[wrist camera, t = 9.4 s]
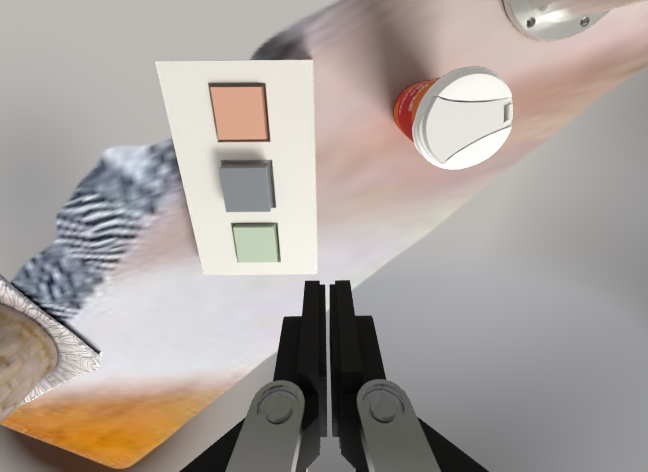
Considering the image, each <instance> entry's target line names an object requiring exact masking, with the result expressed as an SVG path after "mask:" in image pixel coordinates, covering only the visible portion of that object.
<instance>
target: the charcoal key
mask: <svg viewBox="0 0 648 472" xmlns="http://www.w3.org/2000/svg"><path fill="white" fill-rule="evenodd" d="M219 173H220V179H221V185H222V191H223V197H224V202H225V208H226V212H270V211H271V208H272V206H273V198H272V187H271V176H270V165H269V163H225V164H224V165H222V166H221V167H220V168H219Z"/></svg>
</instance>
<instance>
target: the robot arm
mask: <svg viewBox="0 0 648 472" xmlns="http://www.w3.org/2000/svg"><path fill="white" fill-rule="evenodd" d="M642 1H645V0H503V2H504V6H505V10H506V13H507V15H508V17H509V19H510V21H511V22H512V24H513V25H514V26H515V27H516V29H517V30H518V31H520V32H521V33H522V34H524V35H525V36H527V37H529V38H532V39H535V40H540V41H554V40H560V39H565V38H569V37H572V36H574V35H576V34H579V33H581V32H583V31H585V30H586V29H588V28H590V27H591V26H593V25H594V24H596V23H597V22H598V21H599V20H600V19H602V18H603V17H604V16H605V15H606V14H607V13H608V12H609V11H610V10H611V9H615V8H619V7H623V6H626V5H630V4H634V3H638V2H642ZM527 22H528V25H527ZM326 366H327V365H326V305H325V285H320V281H305V288H304V300H303V312H302V316H290V317H284V319H283V324H282V330H281V336H280V342H279V348H278V355H277V361H276V367H275V373H274V379H273V382H270V383H268V384H266V385H265V386H263V387H262V388H261V389H260V390H259V391H258V392H257V393H256V395H255V397H254V398H253V400H252V403H251V405H250V408H249V410H248V413H247V416H246V418H244V419H243V420H242V421H241V422H239V423H238V424H237V425H236V426H235V427H233V428H232V429H231V430H230V431H228V432H227V433H226V434H225V435H224V436H222V437H221V438H220V439H219V440H217V442H215V443H214V444H213V445H211V446H210V447H209V448H208V449H207V450H205V451H204V452H203V453H202V454H201V455H199V456H198V457H197V458H196V459H194V460H193V461H192V462H191V463H189V464H188V465H187V466H186V467H185V468H183V469H182V470H181V471H180V472H308V467H309V466H310V465H311V464H312V462H313V461H314V460H315V459H316V458H317V457H318V456H319V455H320V437H327V370H326V369H327V367H326ZM330 368H331V400H332V401H331V402H332V433H333V434H332V435H333V437H339V443H340V448H341V454H342V455H343V456H344V457H345V458H346V460H348V462H349V463H351V465H352V466H353V472H489V471H487V470H486V469H485V468H484V467H482V466H481V465H480V464H478V463H477V462H476V461H474V460H473V459H472V458H470V457H469V456H468V455H467V454H465V453H464V452H463V451H461V450H460V449H459V448H457V447H456V446H455V445H454V444H452V443H451V442H449V441H448V440H447V439H446V438H444V437H443V436H442V435H440V434H439V433H438V432H436V431H435V430H434V429H433V428H431V427H430V426H428V425H427V424H426V423H425V422H423V421H422V420H421V419H419V418H418V417H417V416H416V414H415V412H414V409H413V407H412V404H411V402H410V400H409V398H408V396H407V395H406V393H405V391H403V390H402V389H401V388H400V387H399V386H398V385H396V384H395V383H393V382H391V381H387V380H386V377H385V373H384V368H383V363H382V358H381V354H380V349H379V345H378V340H377V335H376V331H375V326H374V322H373V318H372V316H355V314H354V307H353V299H352V292H351V285H350V280H341V281H335V284H330Z"/></svg>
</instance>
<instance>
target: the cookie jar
mask: <svg viewBox="0 0 648 472" xmlns="http://www.w3.org/2000/svg"><path fill="white" fill-rule="evenodd" d="M102 354H103V352H100V353H99V354H97V353H96V352H94V351H93V350H92V349H91V348H90V347H89V346H88V345H86V344H85V343H84V342H83V341H82V340H81V339H79V338H78V337H77V336H76V335H75V334H73V333H72V332H71V331H69V330H68V329H67V328H65V327H64V326H63V325H61V324H60V323H59V322H57V321H56V320H55V319H53V318H52V317H51V316H49V315H48V314H47V313H45V312H44V311H43V310H42V309H40V308H39V307H38V306H37V305H36V304H35V303H33V302H32V301H31V300H29V299H28V298H27V297H26V296H24V295H23V294H22V293H21V292H20V291H18V290H17V289H16V288H15V287H14V286H12V285H11V284H10V283H9V282H8V281H7V280H6V279H5V278H4V277H3V276H2V275H0V422H1V421H3V420H4V419H6V418H7V417H8V416H9V415H11V414H12V413H13V412H14V411H15V410H16V409H17V408H18V407H19V406H21V405H22V404H25V403H27V402H30V401H32V400H34V399H35V398H37V397H39V396H41V395H42V394H43V393H46V392H47V391H48V390H51V389H54V388H57V387H58V386H59V385H61V384H63V383H65V382H68V381H70V380H73V379H74V378H76V377H77V376H80V375H83V374H85V373H86V372H89V371H90V370H97V369H98V367H99V366H100V358H101V357H102Z"/></svg>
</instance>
